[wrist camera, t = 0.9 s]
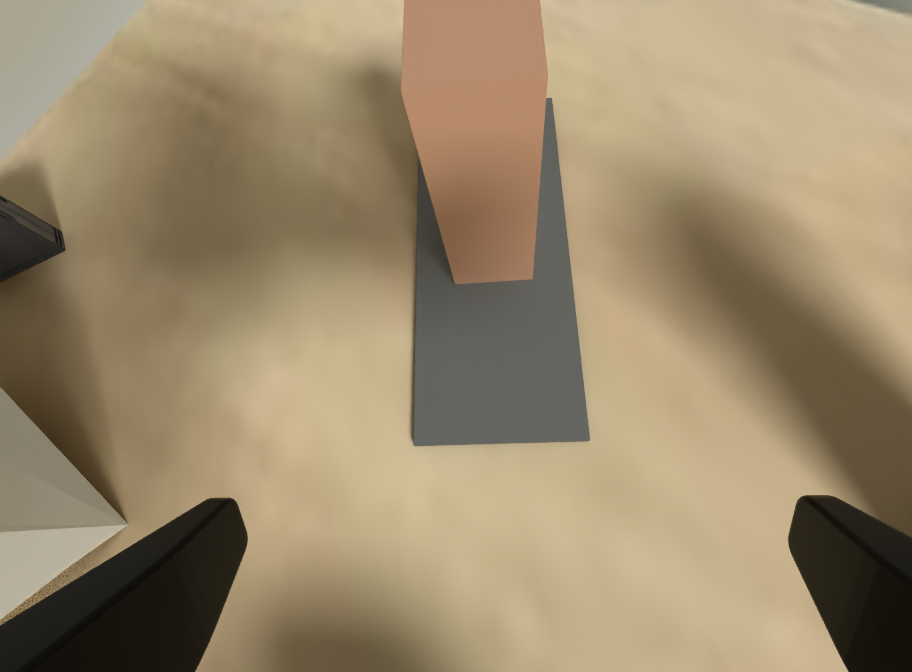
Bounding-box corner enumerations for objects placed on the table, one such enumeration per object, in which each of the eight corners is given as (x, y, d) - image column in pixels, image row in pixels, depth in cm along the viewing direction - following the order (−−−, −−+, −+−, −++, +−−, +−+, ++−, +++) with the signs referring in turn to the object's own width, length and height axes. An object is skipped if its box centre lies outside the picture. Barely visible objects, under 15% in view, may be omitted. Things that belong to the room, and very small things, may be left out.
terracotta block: (532, 279, 23) (547, 74, 12) (455, 284, 24) (400, 91, 13) (527, 212, 25) (536, -26, 14) (454, 218, 25) (404, -8, 14)
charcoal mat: (588, 441, 21) (590, 440, 20) (415, 446, 22) (413, 445, 21) (551, 103, 28) (551, 97, 27) (420, 117, 29) (419, 112, 28)
